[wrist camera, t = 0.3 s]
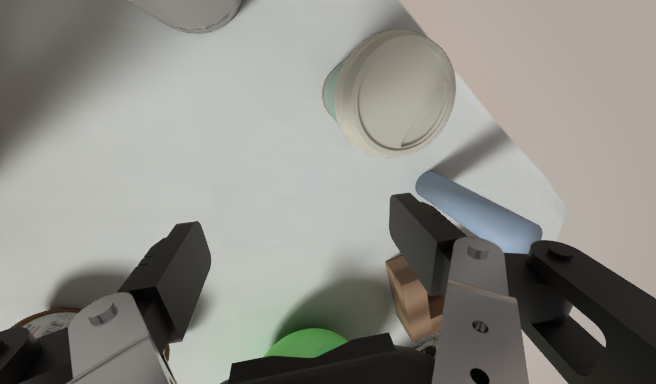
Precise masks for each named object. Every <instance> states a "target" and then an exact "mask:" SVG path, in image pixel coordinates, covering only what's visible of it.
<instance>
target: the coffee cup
mask: <svg viewBox="0 0 656 384" xmlns="http://www.w3.org/2000/svg"><path fill="white" fill-rule="evenodd" d="M455 92H456V82H455V75H454V71H453V67H452V64H451V62H450V60H449V58H448V56H447V55H446V53H445V52H444V51H443V49H442V48H441V47H440V46H439V45H438V44H436V43H435V42H434V41H432V40H430V39H428V38H427V37H425V36H423V35H421V34H419V33H417V32H414V31H410V30H399V29H393V30H386V31H382V32H379V33H376V34H374V35H372V36H370V37H369V38H367V39H365V40H364V41H363V42H361V43H360V44H359V45H358V46H357V47H356V48H355V49H354V50H353V51H352V53H351V54H350V55H349V56H348V58H347V59H346V60H345V61H344V62H342V63H341V64H340V65H339V66H337V67H336V68H335V69H333V70H332V71H331V72H330V74H329V75H328V76H327V78H326V80H325V82H324V85H323V90H322V98H323V103H324V106H325V108H326V110H327V111H328V113H329V114H330V115H331V116H332V117H333V119H334V120H335V121H336V122H337V123H338V124H339V127H340V129H341V131H342V133H343V134H344V136H345V137H346V139H347V140H348V141H349V142H350V143H351V144H352V145H353V146H354V147H355V148H356V149H358V150H359V151H361V152H363V153H365V154H367V155H370V156H374V157H380V158H395V157H400V156H405V155H409V154H412V153H415V152H417V151H419V150H421V149H423V148H424V147H426V146H427V145H428V144H429V143H431V142H432V141H433V140H434V139H435V138H436V137H437V136H438V134H439V133H440V132H441V131H442V129H443V128H444V126H445V124H446V123H447V121H448V119H449V116H450V114H451V111H452V108H453V105H454V100H455Z"/></svg>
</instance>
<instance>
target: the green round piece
mask: <svg viewBox="0 0 656 384" xmlns="http://www.w3.org/2000/svg"><path fill="white" fill-rule="evenodd" d="M347 342H348V341H347V340H346V339H345V338H344V337H342V336H340V335H339V334H337V333H335V332H332V331H330V330H326V329H321V328H309V329H303V330H299V331H296V332H293V333H291V334H289V335H287V336H285V337H284V338H282V339H281V340H279V341H278V342H277V343H276V344H275V345H274V346H273V347H272V348H271V349H270V350H269V351H268V352H267V353H266V355H265V356H264V357H268V356H287V357H303V358H314V357H317V356H320V355H322V354H324V353H326V352H328V351H330V350H332V349H334V348H336V347H338V346H340V345H342V344H344V343H347Z"/></svg>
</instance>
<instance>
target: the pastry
mask: <svg viewBox="0 0 656 384" xmlns="http://www.w3.org/2000/svg"><path fill="white" fill-rule="evenodd" d="M437 344H438V340H437V339H431V340H429V341H427V342H425V343H424V344H422V345H421V346H419V347H417V348H415V350H419V351H421V352H423V353H426V354H428V355H430V356H432V357H433V358H435V356H436V350H437Z"/></svg>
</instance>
